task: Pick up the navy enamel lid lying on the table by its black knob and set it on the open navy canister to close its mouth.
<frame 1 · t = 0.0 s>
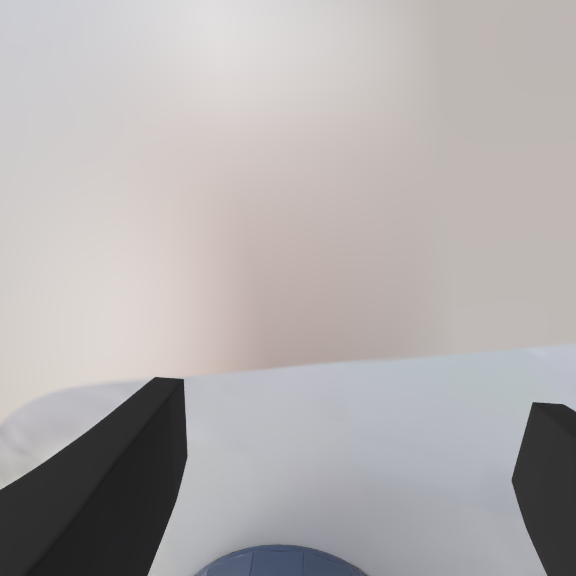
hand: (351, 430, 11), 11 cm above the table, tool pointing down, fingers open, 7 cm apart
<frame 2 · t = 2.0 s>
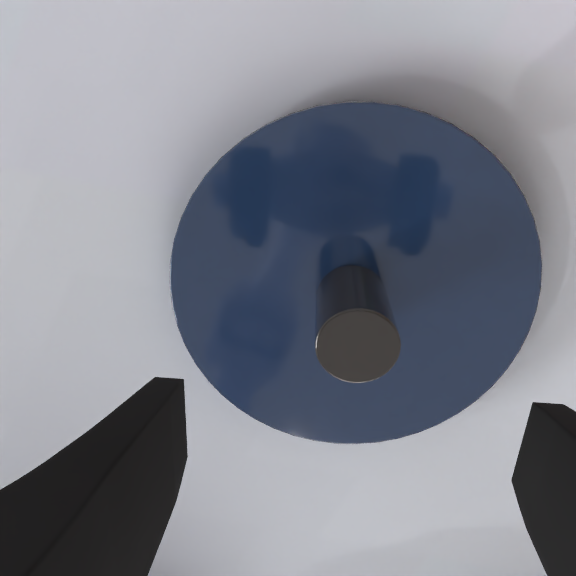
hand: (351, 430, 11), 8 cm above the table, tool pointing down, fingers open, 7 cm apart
lid: (350, 291, 18), point 1 cm above the table
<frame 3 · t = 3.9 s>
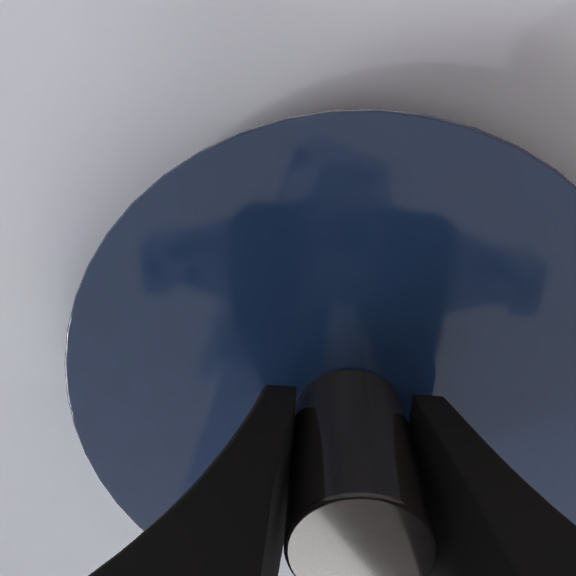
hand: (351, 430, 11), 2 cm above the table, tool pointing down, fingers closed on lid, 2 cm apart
lid: (347, 401, 12), point 1 cm above the table, touching gripper
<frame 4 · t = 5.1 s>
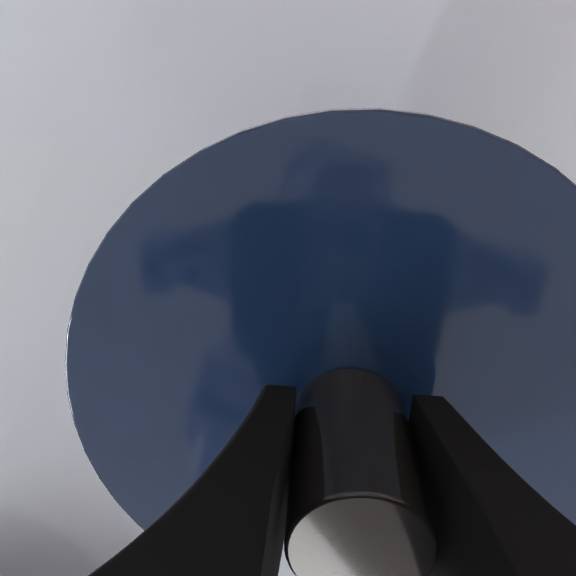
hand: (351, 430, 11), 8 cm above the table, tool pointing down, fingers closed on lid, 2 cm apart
lid: (347, 400, 12), point 7 cm above the table, touching gripper
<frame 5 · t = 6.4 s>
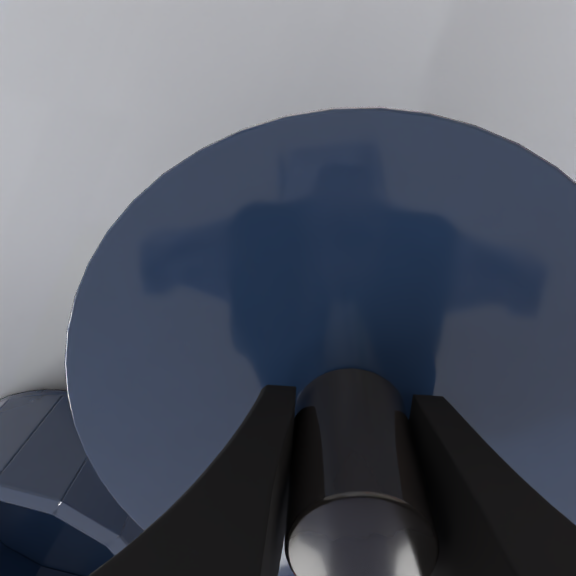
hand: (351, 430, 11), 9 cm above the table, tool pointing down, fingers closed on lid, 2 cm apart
canister: (77, 492, 24), on the table
lid: (348, 400, 12), point 8 cm above the table, touching gripper
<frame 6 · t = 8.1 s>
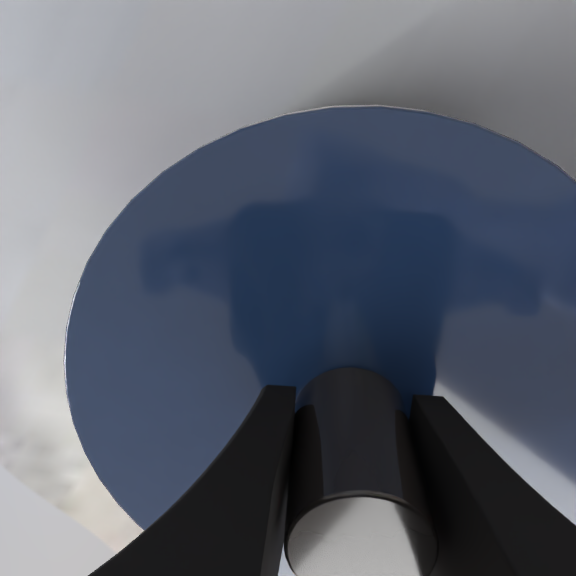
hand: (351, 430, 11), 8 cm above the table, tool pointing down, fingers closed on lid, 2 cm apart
lid: (348, 399, 11), point 7 cm above the table, touching gripper
when the fingers open (6 cm above the table, at t = 9.0 s): lid stays where it is, resting on canister.
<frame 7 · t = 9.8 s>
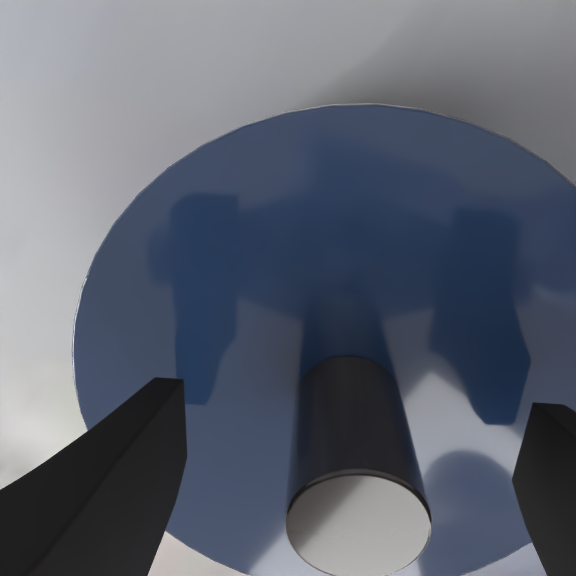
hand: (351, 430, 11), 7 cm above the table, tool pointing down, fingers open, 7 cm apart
lid: (346, 388, 12), point 5 cm above the table, touching canister
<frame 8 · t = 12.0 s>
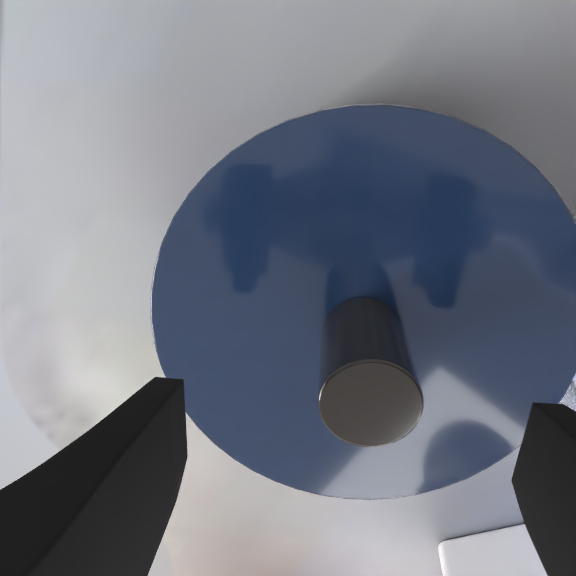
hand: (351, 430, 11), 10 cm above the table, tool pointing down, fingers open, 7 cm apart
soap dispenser: (504, 564, 26), on the table
lid: (361, 326, 15), point 5 cm above the table, touching canister
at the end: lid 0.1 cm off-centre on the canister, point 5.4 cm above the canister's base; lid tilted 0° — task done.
